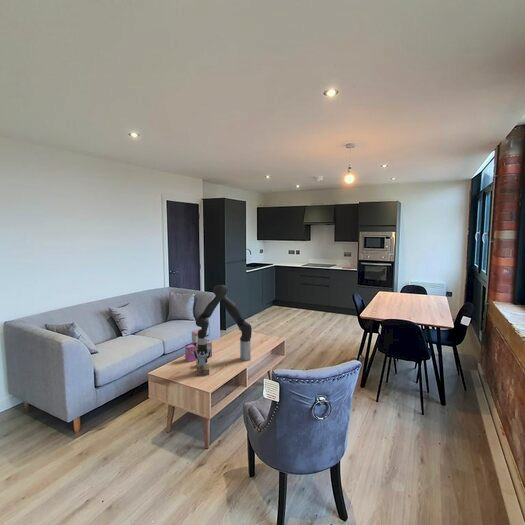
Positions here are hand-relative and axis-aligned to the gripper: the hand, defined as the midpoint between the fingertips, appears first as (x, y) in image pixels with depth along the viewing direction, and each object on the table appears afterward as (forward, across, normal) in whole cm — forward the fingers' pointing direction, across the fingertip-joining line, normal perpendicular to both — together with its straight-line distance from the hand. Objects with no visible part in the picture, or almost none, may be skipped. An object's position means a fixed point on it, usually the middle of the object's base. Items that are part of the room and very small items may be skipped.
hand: (202, 362), depth 257 cm
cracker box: (+8, +11, -44) cm, 46 cm away
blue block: (+1, 0, 0) cm, 1 cm away
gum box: (+8, +9, -29) cm, 31 cm away
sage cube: (+8, +5, -12) cm, 15 cm away
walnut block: (+8, 0, 0) cm, 8 cm away
